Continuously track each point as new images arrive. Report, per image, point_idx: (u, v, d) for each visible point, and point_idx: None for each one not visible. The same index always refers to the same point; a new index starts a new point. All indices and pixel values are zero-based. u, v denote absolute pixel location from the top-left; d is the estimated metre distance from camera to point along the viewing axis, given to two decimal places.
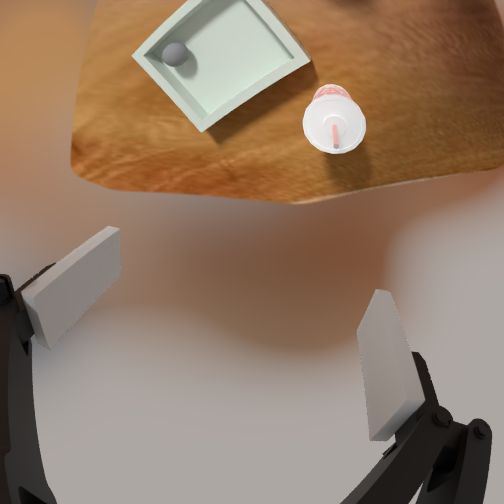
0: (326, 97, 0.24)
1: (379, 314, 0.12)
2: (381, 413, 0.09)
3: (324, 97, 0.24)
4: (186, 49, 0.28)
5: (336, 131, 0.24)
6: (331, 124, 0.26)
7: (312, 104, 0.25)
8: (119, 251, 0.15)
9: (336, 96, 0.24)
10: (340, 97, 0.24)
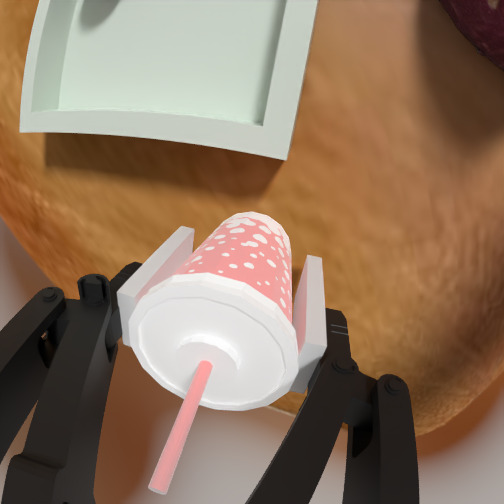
0: (244, 303, 0.08)
1: (305, 275, 0.14)
2: None
3: (239, 298, 0.08)
4: None
5: (195, 407, 0.08)
6: (203, 357, 0.09)
7: (193, 288, 0.09)
8: (191, 250, 0.16)
9: (271, 319, 0.09)
10: (279, 327, 0.09)
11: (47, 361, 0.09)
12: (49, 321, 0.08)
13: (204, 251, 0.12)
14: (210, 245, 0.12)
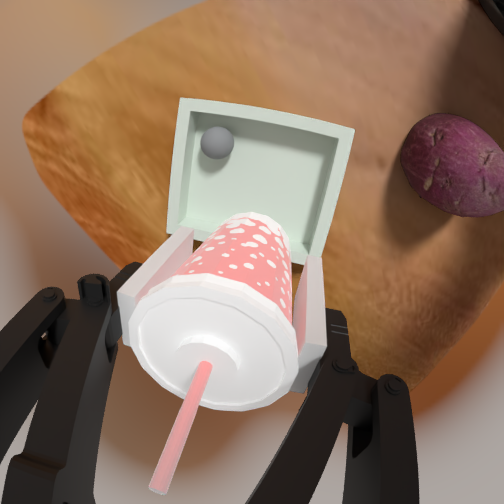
0: (244, 303, 0.08)
1: (305, 275, 0.14)
2: None
3: (239, 299, 0.08)
4: (231, 150, 0.27)
5: (195, 408, 0.08)
6: (203, 358, 0.09)
7: (193, 289, 0.09)
8: (191, 250, 0.16)
9: (271, 319, 0.09)
10: (279, 328, 0.09)
11: (47, 361, 0.09)
12: (49, 321, 0.08)
13: (204, 251, 0.12)
14: (210, 245, 0.12)
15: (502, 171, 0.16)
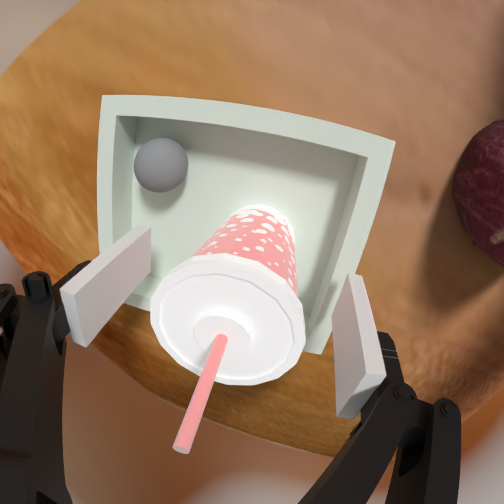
0: (258, 277, 0.10)
1: (348, 295, 0.13)
2: (346, 389, 0.10)
3: (254, 274, 0.10)
4: (183, 177, 0.16)
5: (214, 374, 0.09)
6: (219, 331, 0.11)
7: (213, 265, 0.10)
8: (149, 249, 0.16)
9: (282, 292, 0.10)
10: (288, 300, 0.10)
11: (7, 355, 0.08)
12: (4, 315, 0.08)
13: (218, 237, 0.13)
14: (223, 232, 0.14)
15: None
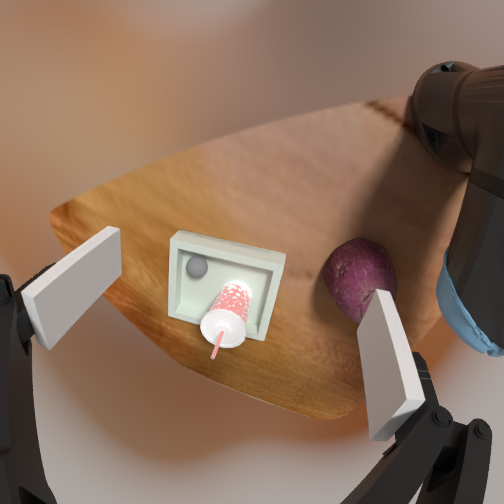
0: (231, 316, 0.37)
1: (378, 314, 0.12)
2: (381, 413, 0.09)
3: (230, 315, 0.37)
4: (206, 272, 0.43)
5: (220, 341, 0.36)
6: (221, 330, 0.38)
7: (220, 313, 0.37)
8: (119, 251, 0.15)
9: (238, 320, 0.37)
10: (240, 322, 0.37)
11: None
12: None
13: (220, 300, 0.40)
14: (222, 298, 0.41)
15: None
